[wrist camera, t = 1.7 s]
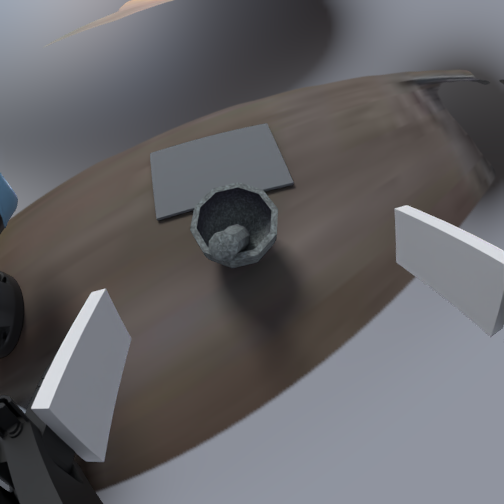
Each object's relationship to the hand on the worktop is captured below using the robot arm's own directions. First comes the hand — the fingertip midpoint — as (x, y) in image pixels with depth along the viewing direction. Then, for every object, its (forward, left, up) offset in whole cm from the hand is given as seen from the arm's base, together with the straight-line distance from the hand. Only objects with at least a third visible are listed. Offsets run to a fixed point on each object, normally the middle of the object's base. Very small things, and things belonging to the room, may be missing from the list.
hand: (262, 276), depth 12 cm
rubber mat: (0, +25, -23) cm, 35 cm away
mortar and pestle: (0, +11, -24) cm, 26 cm away
